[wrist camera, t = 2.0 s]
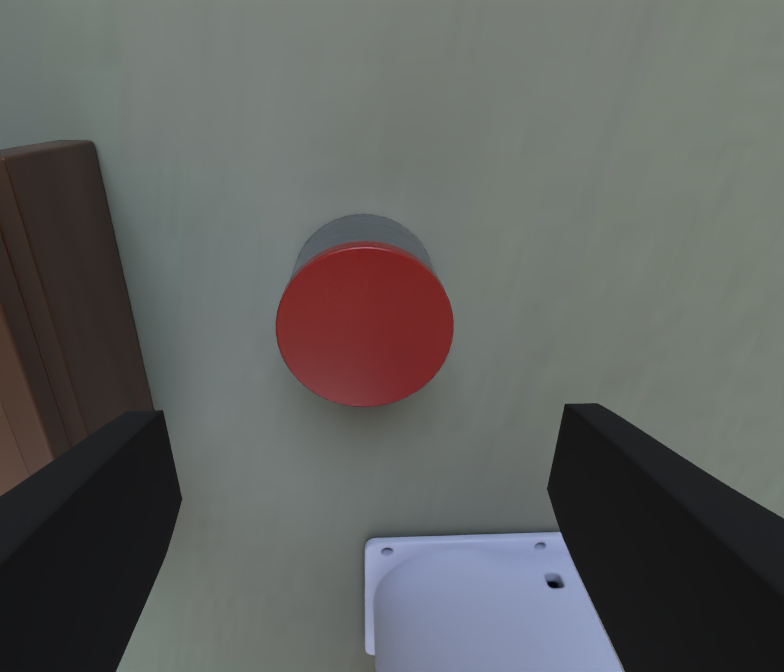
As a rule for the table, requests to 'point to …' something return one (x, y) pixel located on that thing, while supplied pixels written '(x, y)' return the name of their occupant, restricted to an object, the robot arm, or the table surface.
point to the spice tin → (364, 313)
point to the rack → (60, 309)
